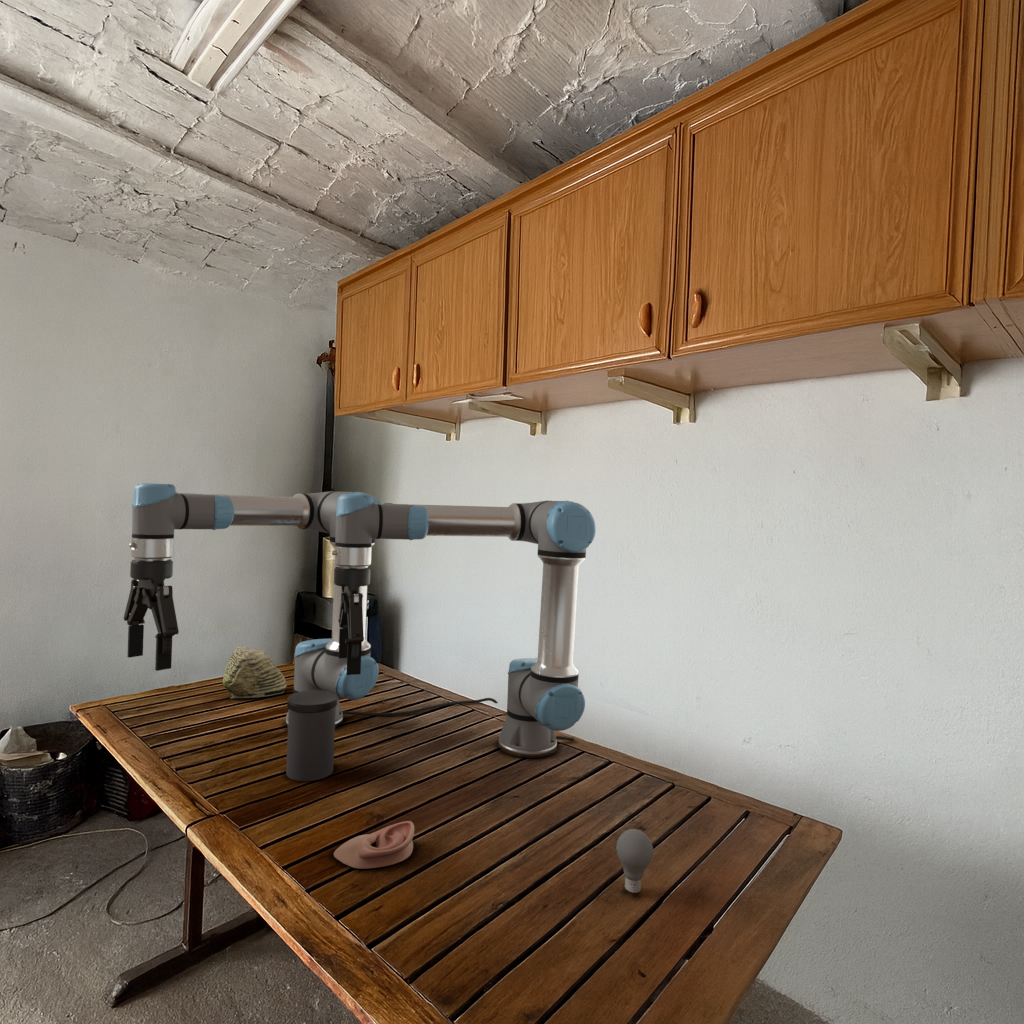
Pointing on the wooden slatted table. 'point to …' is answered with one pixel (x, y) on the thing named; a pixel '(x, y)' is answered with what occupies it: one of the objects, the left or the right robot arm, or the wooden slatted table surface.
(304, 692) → the lid
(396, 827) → the anatomical model
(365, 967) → the wooden slatted table surface
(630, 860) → the light bulb
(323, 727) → the jar
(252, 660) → the fossil
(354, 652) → the right robot arm
